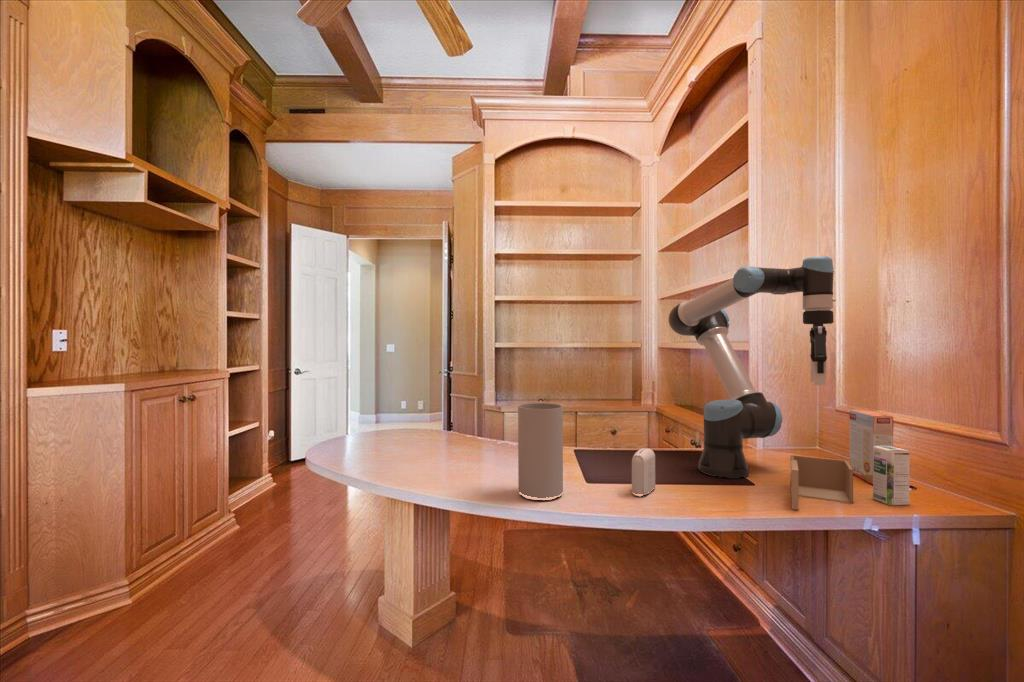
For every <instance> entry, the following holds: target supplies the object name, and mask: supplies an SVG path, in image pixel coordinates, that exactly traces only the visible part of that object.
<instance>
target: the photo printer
mask: <svg viewBox="0 0 1024 682" xmlns="http://www.w3.org/2000/svg"><path fill="white" fill-rule="evenodd" d="M653 488H655V489H656V454H655V452H654V451H653V450H652V449H651V448H646V447H644V448H640V449H639V450H637V451H636V452H635V453H634V455H633V456H632V459H631V493H632V492H633V493H635V494H643V495H645V494H647V493H648V492H650V491H651V490H652V489H653ZM650 493H651V492H650Z"/></svg>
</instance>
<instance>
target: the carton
mask: <svg viewBox="0 0 1024 682" xmlns="http://www.w3.org/2000/svg"><path fill="white" fill-rule="evenodd" d="M791 460H797V464H798V482H799V497H800V496H801V497H802V498H808V499H817V500H822V499H824V500H825V501H830V500H831V501H832V502H839V503H847V504H854V475H853V469H852V467H851V465H850V461H848V460H844V459H835V458H834V459H833V458H828V459H826V458H825V457H817V458H816V456H806V455H805V456H804V455H794V454H790V461H791ZM801 497H800V498H801ZM824 500H823V501H824ZM831 501H830V502H831Z"/></svg>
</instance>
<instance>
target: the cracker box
mask: <svg viewBox="0 0 1024 682" xmlns="http://www.w3.org/2000/svg"><path fill="white" fill-rule="evenodd" d="M894 419H895V417H894V416H893V415H888V414H885V413H881V412H876V411H874V410H869V409H849V464H850V465H851V467H852V469H853V474H854V475H853V476H855V477H856V478H859V479H861V480H862V481H865V482H867V483H869V484H870V483H871V485H872V484H873V447H874V446H892V447H894Z"/></svg>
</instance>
